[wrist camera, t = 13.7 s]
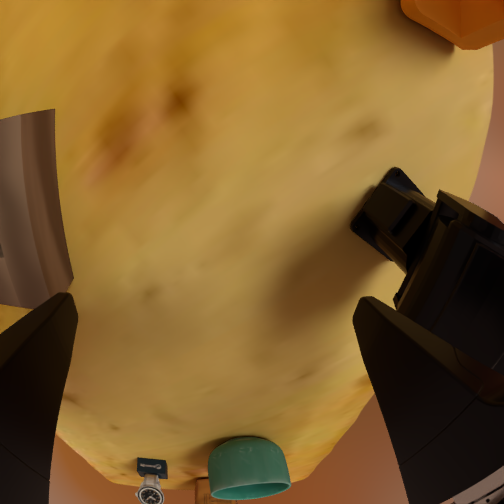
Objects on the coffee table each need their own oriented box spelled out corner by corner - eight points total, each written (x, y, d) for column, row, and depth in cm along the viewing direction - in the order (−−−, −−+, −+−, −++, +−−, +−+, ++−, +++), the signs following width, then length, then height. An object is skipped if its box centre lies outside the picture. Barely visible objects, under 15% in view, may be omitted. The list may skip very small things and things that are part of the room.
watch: (164, 457, 41) (165, 508, 32) (168, 468, 45) (169, 513, 36) (135, 454, 40) (133, 504, 31) (141, 466, 44) (141, 510, 35)
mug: (204, 431, 37) (208, 487, 28) (286, 425, 39) (299, 478, 30) (208, 463, 44) (212, 504, 36) (271, 458, 47) (280, 498, 38)
